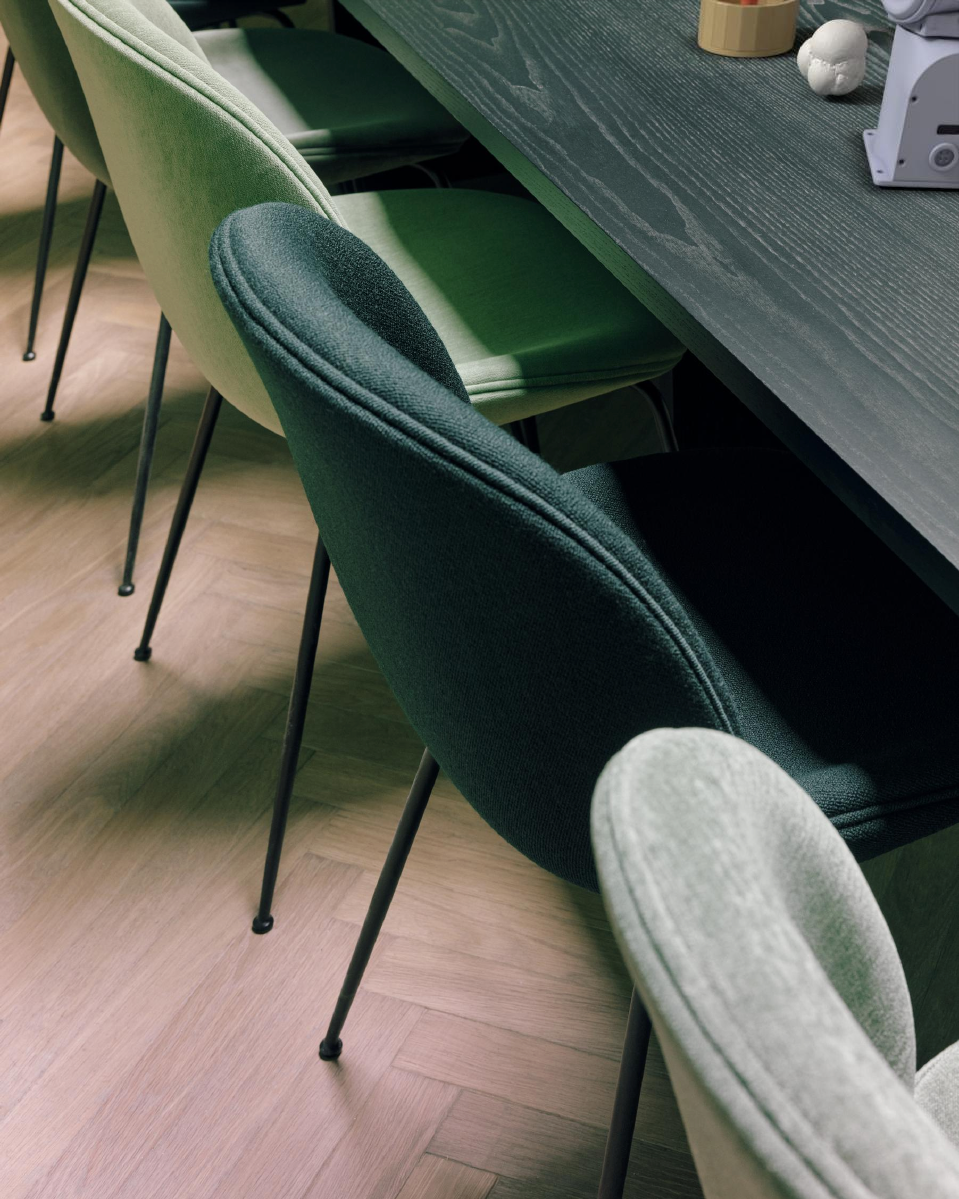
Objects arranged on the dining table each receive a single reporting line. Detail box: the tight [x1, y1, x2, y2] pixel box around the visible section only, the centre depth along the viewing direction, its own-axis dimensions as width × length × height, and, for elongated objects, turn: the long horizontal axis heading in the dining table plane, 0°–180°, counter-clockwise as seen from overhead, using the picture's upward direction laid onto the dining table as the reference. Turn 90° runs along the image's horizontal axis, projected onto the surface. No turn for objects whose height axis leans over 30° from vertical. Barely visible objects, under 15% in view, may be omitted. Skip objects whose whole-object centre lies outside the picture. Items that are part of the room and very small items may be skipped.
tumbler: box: [697, 0, 801, 58], centre depth 103 cm, size 8×8×4 cm
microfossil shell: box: [796, 18, 869, 96], centre depth 92 cm, size 4×5×6 cm
